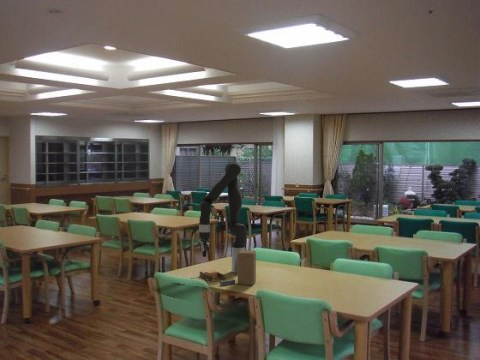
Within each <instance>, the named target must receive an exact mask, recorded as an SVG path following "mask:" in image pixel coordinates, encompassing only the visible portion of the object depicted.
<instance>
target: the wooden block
mask: <svg viewBox="0 0 480 360" xmlns="http://www.w3.org/2000/svg"><path fill="white" fill-rule="evenodd" d="M256 255H257V252H256V250H246V249H245V250H241V251H240V252H239V253H238V273H237V284H238V285H241V286H254V284H255V283H256V281H257V276H256V275H257V271H256V270H257V268H256V266H257V259H256V258H257V256H256Z"/></svg>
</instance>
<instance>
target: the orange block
mask: <svg viewBox="0 0 480 360" xmlns="http://www.w3.org/2000/svg"><path fill="white" fill-rule="evenodd" d="M217 272H218V271H216V270H214V271H213V269H211V270H207V271H206V270H205V271H204V273H206V274H208V275H210V276H212V280H213V279H217V278H218V277H217Z"/></svg>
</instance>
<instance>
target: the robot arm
mask: <svg viewBox="0 0 480 360" xmlns="http://www.w3.org/2000/svg"><path fill="white" fill-rule="evenodd" d="M241 169H242V167H241V166H240V165H239V164H238V163H235V162H229V163H227V164H226V166H225V168H224V171H225V174H224V175H223V177H222V178H221V179H220V180H219V181H217V182H216V184H215V185H213V187H211V189H210V191H209V192H208V193H207V194H206V196H205V197H204V198H203V199H201V201H200V203H199V204H198V208H199V210H200V216H199V224H198V225H199V226H198V238H199V239H200V241H198V245H199V249H200V250H201V253H202V258H206V257H207V251H209V249H210V247H211V244H210V243H209V239H210V238H211V214H212V213H211V211H212V205H213V203H214V202H216V201H217V200H218V199H219V197H220V196H221V194H223V192H224V191H225V189H226V188H227V199H228V200H227V202H228V210H229V211H228V212H229V233H230V235H231V236H233V237H235V241H233V242H232V243H231V273H235V274H238V253H239V252H240V251H241V250H246V244H247V238H248V237H247V235H248V234H247V233H248V231H247V226H246V225H245V224H243V223H240V221H239V214H240V212H241V210H242V207H243V206H242V205H243V200H242V199H243V197H242V193H241V190H240V187H239V184H238V176H239V175H240V173H241Z"/></svg>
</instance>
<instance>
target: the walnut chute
mask: <svg viewBox="0 0 480 360" xmlns="http://www.w3.org/2000/svg"><path fill="white" fill-rule="evenodd" d="M212 270H213V269H212ZM213 271H215V270H213ZM216 272H217V278H218V279H221V281H225V274H223V273H222V272H218V271H216ZM199 277H201V278H203V279H205V280H206V281H209V282H213V279H212V276H210V275H208V274H206V273H205V272H204V271H199Z"/></svg>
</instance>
